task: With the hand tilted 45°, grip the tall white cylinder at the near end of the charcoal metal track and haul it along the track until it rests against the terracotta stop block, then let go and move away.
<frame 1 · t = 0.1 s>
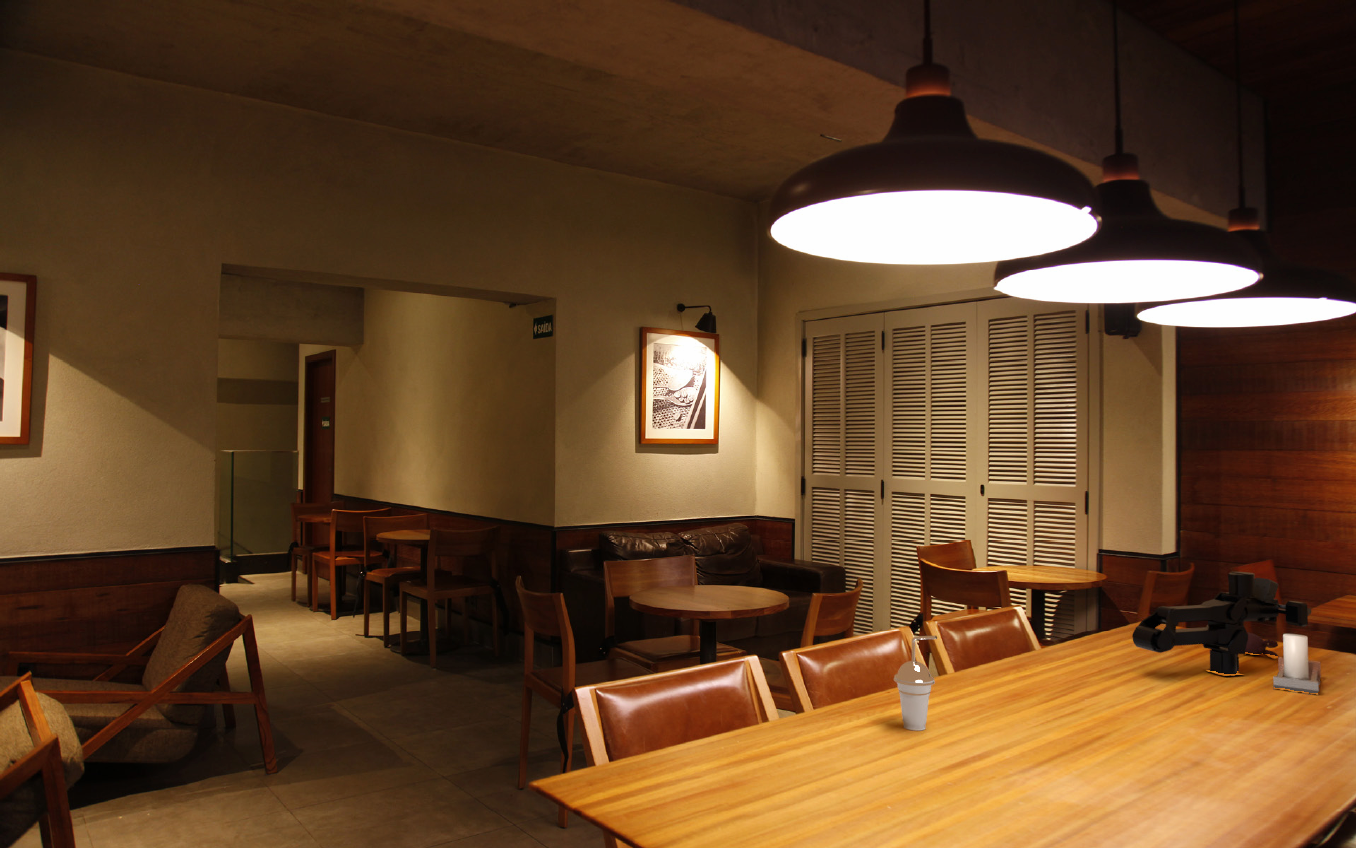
hand: (1294, 608, 239), 17 cm above the table, tool horizontal, fingers open, 9 cm apart
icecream: (1250, 656, 254), on the table
white cylinder: (1295, 659, 217), point 7 cm above the table, slide at -6.0 cm
cup with straw: (915, 728, 182), on the table
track: (1297, 684, 221), on the table
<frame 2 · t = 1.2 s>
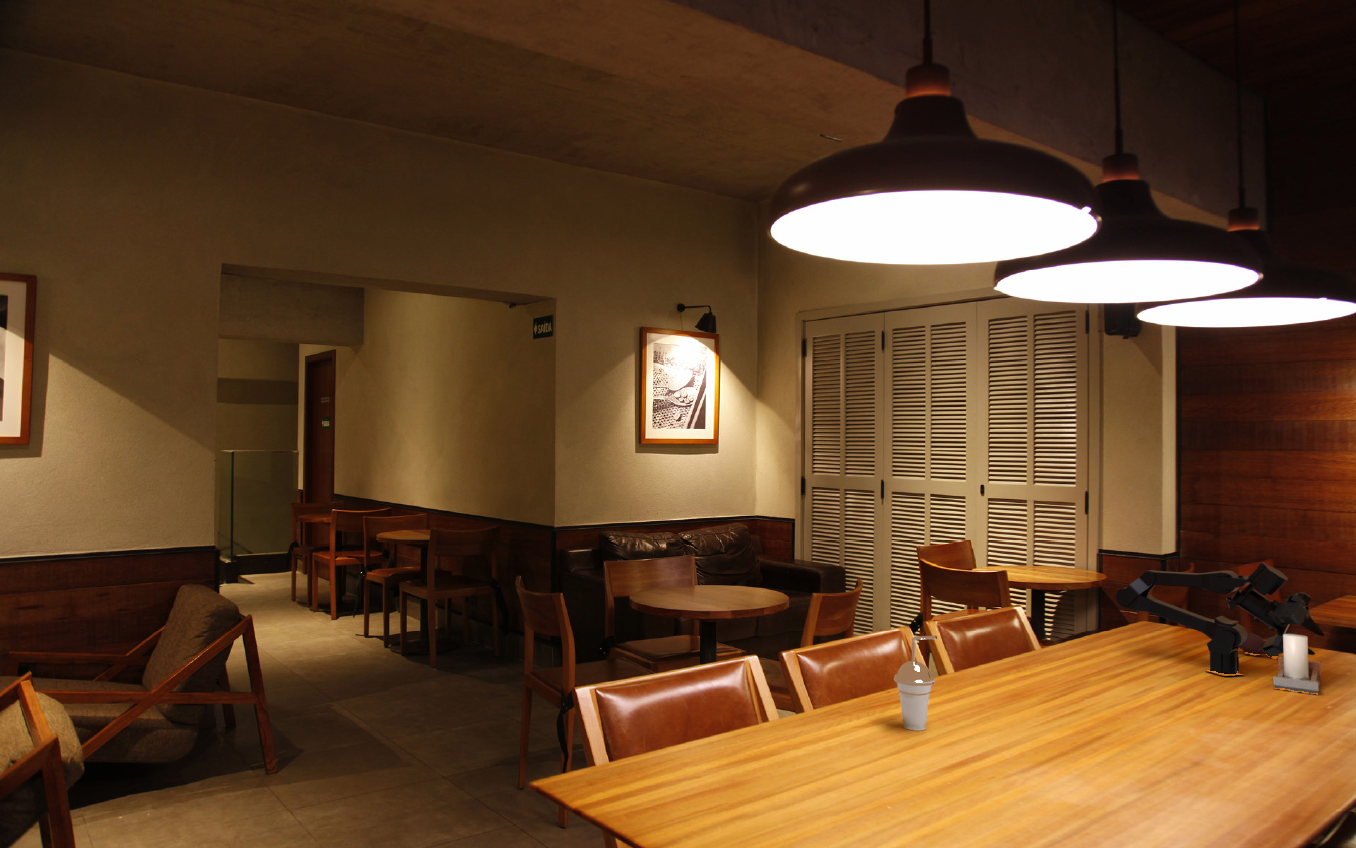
hand: (1318, 645, 222), 10 cm above the table, tool tilted 55°, fingers open, 6 cm apart
white cylinder: (1295, 659, 216), point 7 cm above the table, slide at -6.1 cm, touching gripper, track
everything else where it was.
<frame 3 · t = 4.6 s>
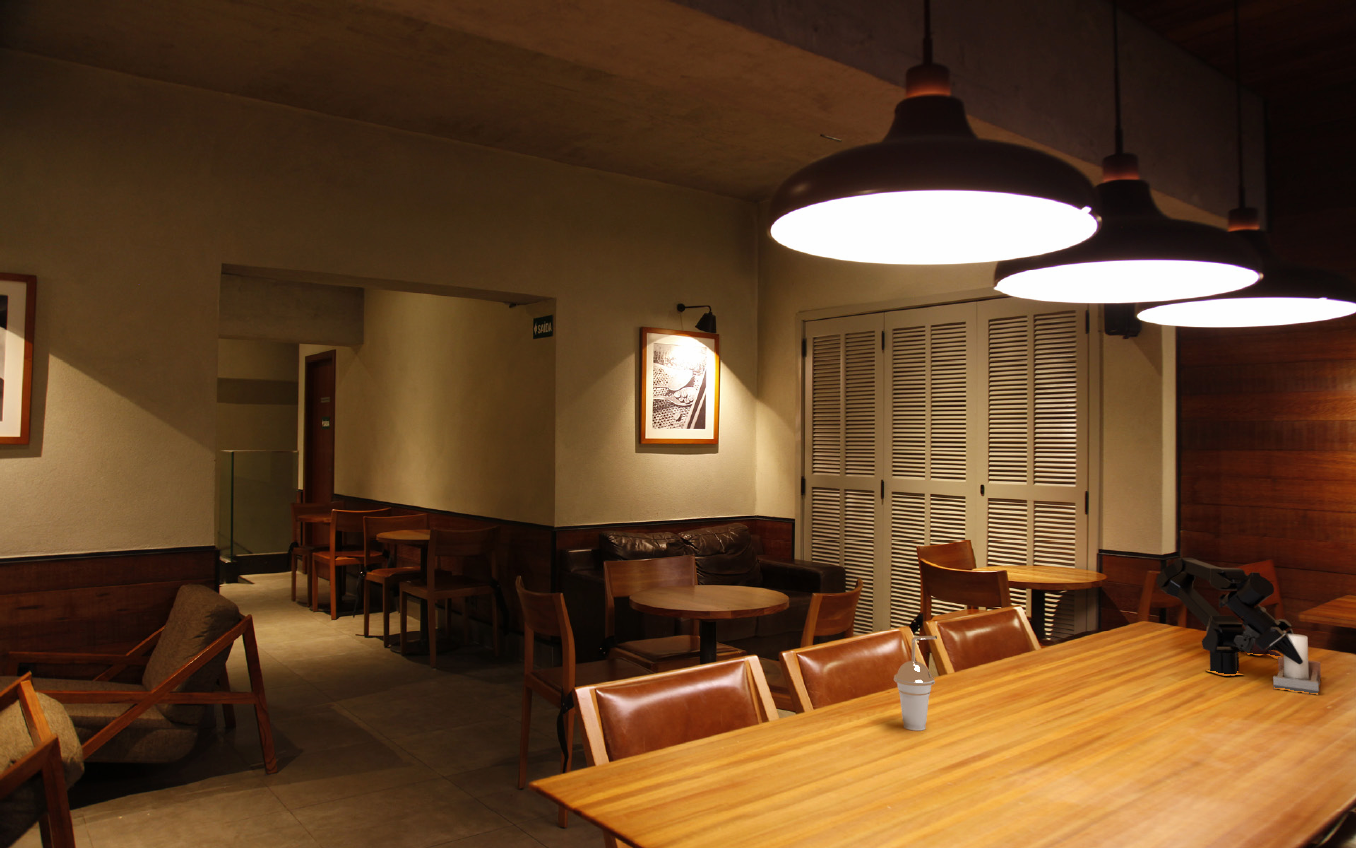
hand: (1302, 661, 216), 7 cm above the table, tool tilted 45°, fingers closed on white cylinder, 5 cm apart
white cylinder: (1295, 659, 217), point 7 cm above the table, slide at -6.0 cm, touching gripper
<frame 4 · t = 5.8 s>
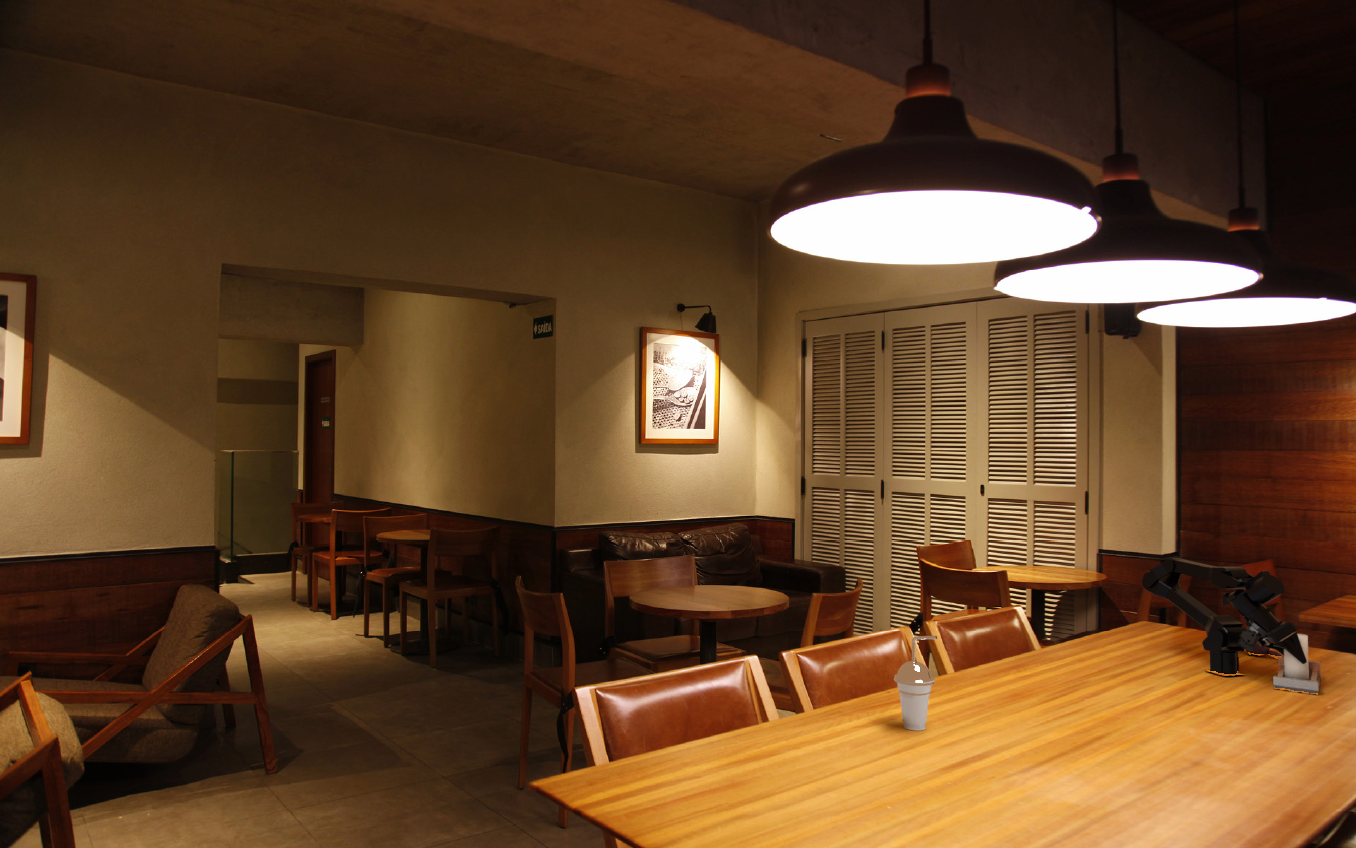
hand: (1301, 663, 217), 6 cm above the table, tool tilted 40°, fingers open, 6 cm apart
white cylinder: (1296, 658, 218), point 7 cm above the table, slide at -4.4 cm, touching gripper
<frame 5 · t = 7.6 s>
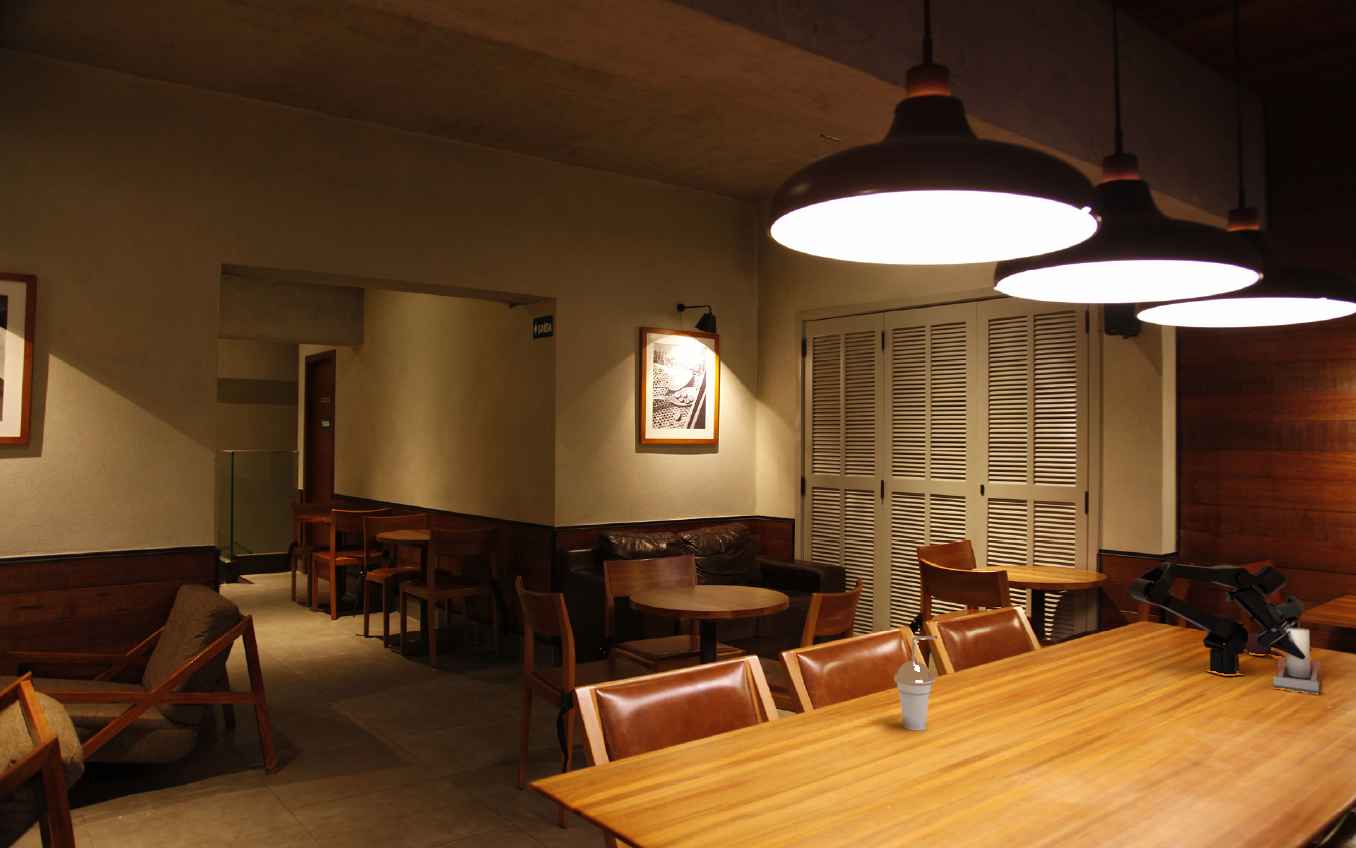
hand: (1307, 655, 224), 7 cm above the table, tool tilted 45°, fingers closed on white cylinder, 5 cm apart
white cylinder: (1298, 652, 225), point 7 cm above the table, slide at 4.9 cm, touching gripper
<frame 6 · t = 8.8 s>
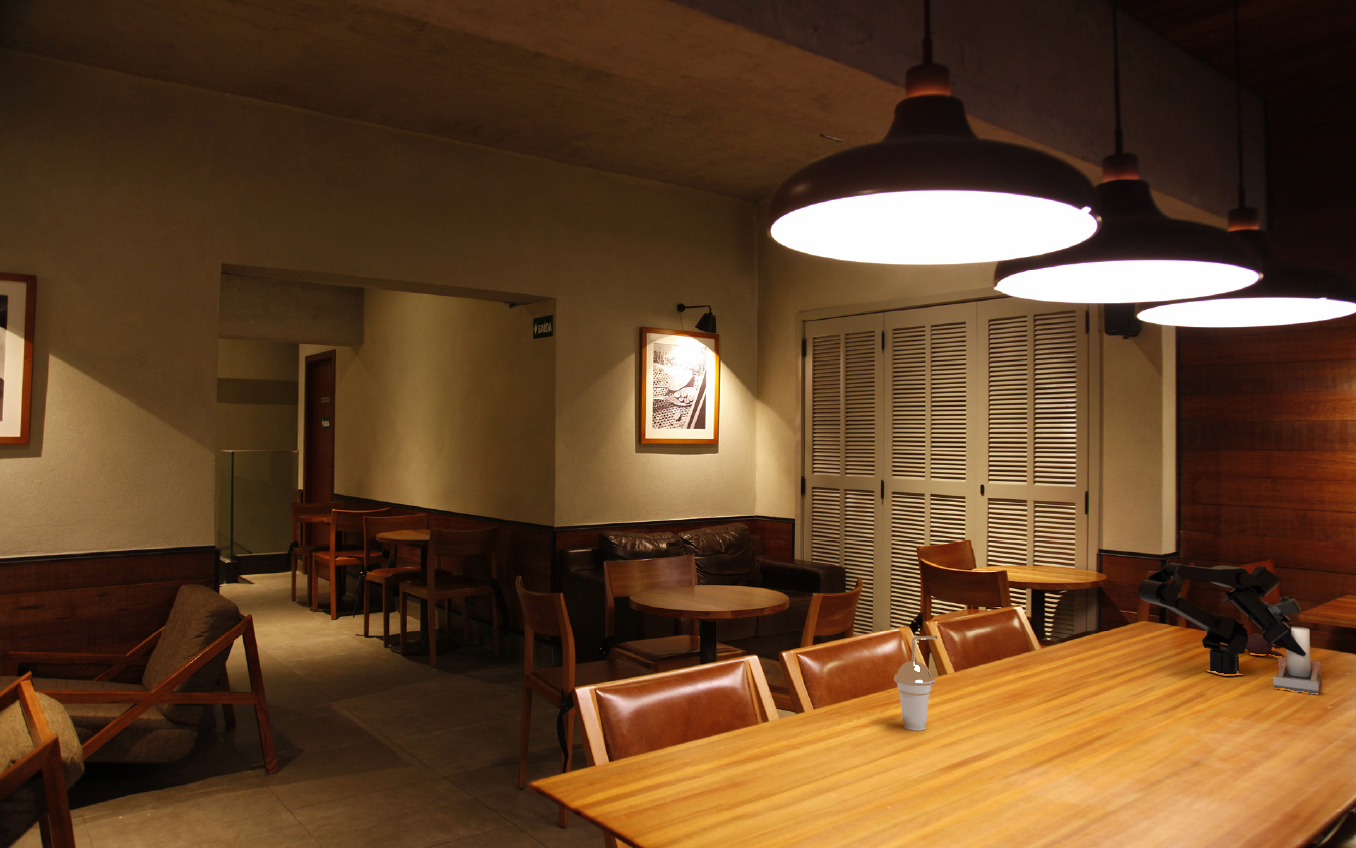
hand: (1304, 653, 225), 7 cm above the table, tool tilted 45°, fingers closed on white cylinder, 5 cm apart
white cylinder: (1298, 651, 226), point 7 cm above the table, slide at 6.1 cm, touching gripper
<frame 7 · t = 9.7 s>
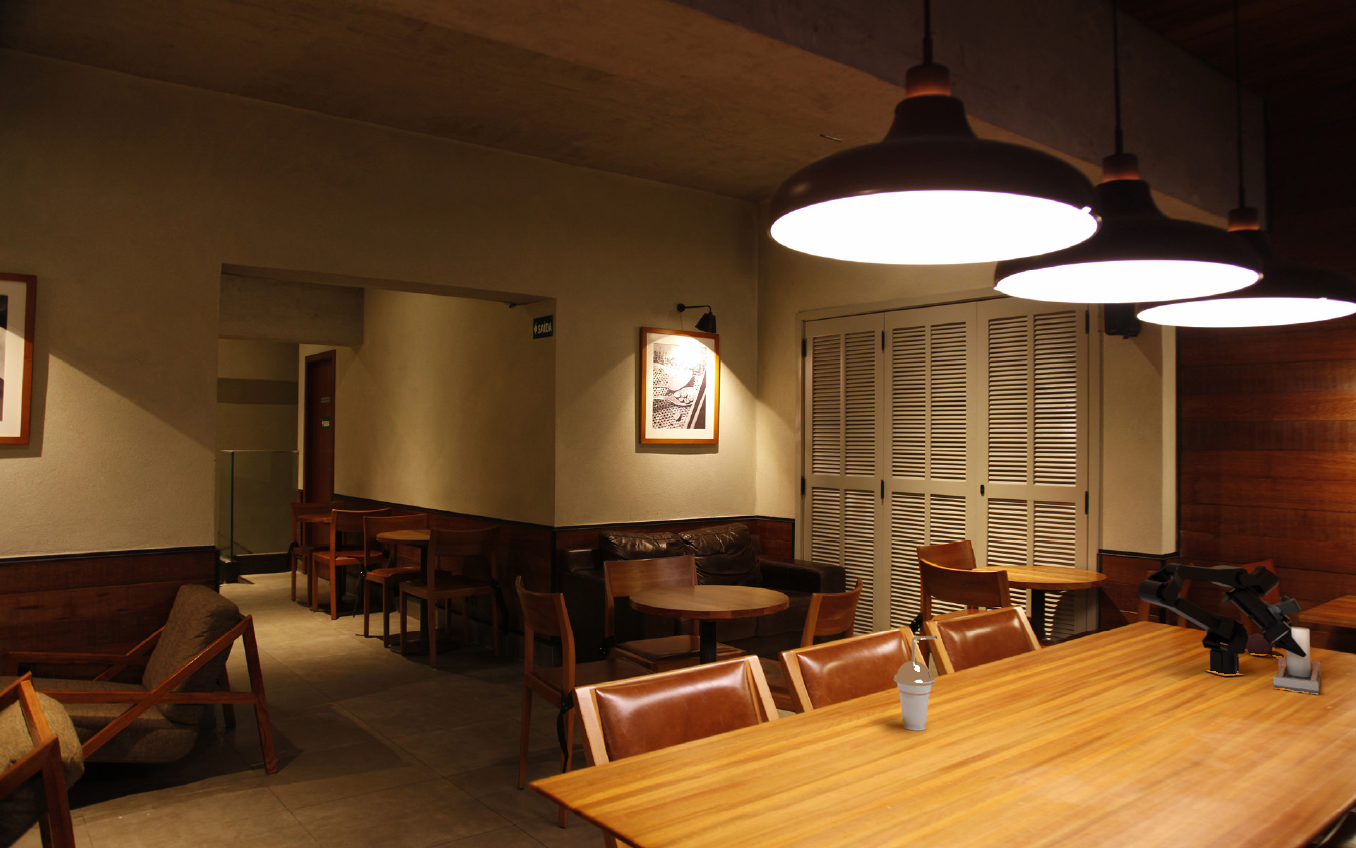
hand: (1304, 653, 225), 7 cm above the table, tool tilted 45°, fingers open, 9 cm apart
white cylinder: (1298, 651, 226), point 7 cm above the table, slide at 6.0 cm
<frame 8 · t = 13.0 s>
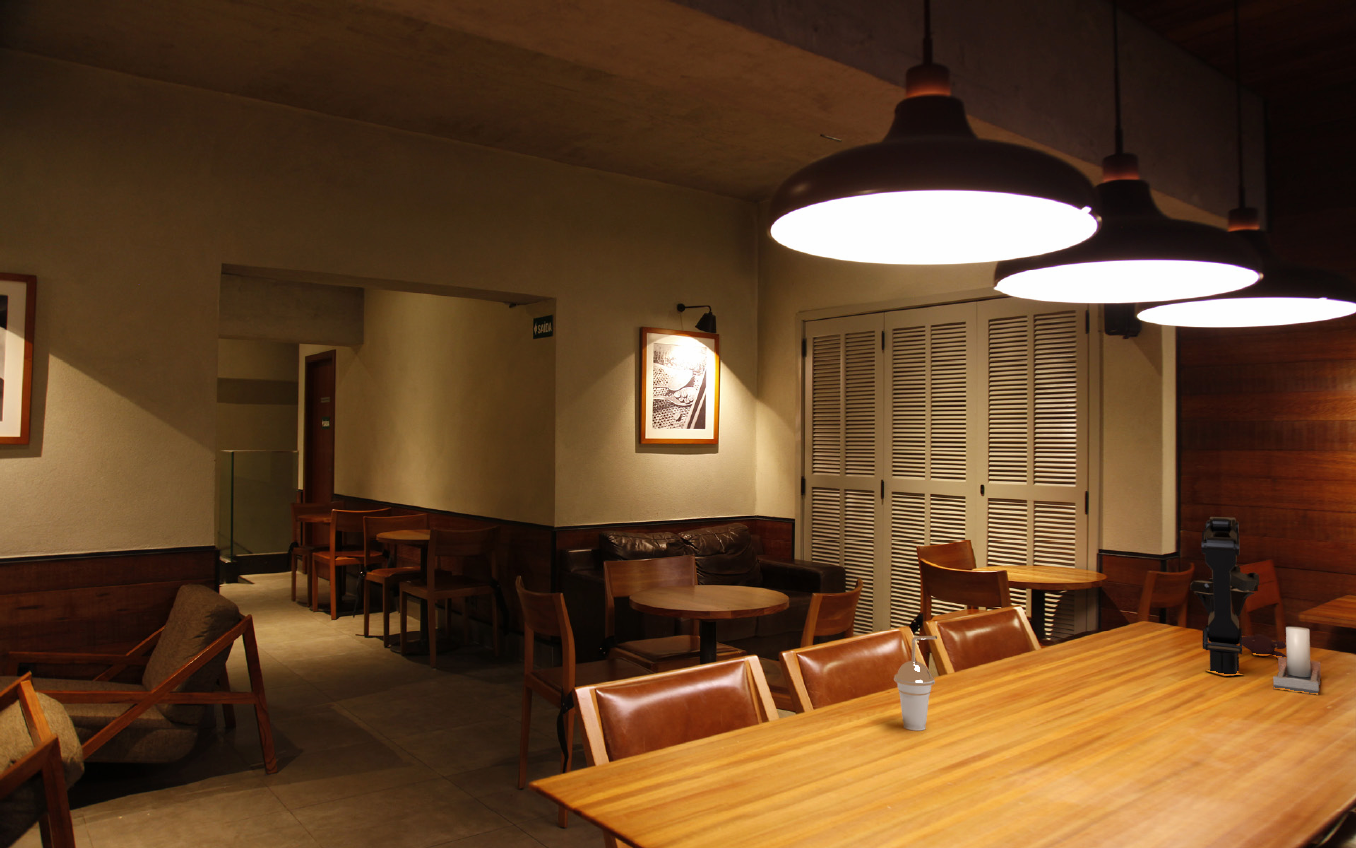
hand: (1224, 616, 244), 13 cm above the table, tool pointing down, fingers open, 9 cm apart
at the end: white cylinder slide at 6.0 cm; the gripper is holding nothing; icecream moved 2.4 cm from its start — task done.
